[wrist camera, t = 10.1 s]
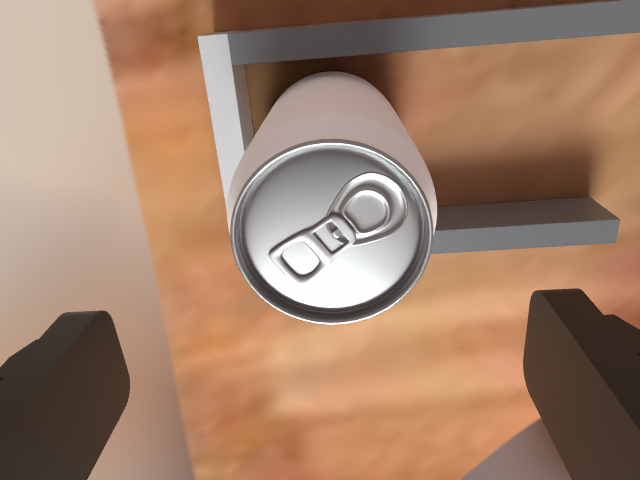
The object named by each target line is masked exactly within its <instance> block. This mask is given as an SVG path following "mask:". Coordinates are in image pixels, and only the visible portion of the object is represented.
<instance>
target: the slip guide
mask: <svg viewBox="0 0 640 480" xmlns="http://www.w3.org/2000/svg"><path fill="white" fill-rule="evenodd" d="M638 32H640V0H595V1H583V2H571V3H559V4H548V5H536V6H524V7H512V8H500V9H488V10H477V11H465V12H453V13H441V14H429V15H417V16H406V17H394V18H382V19H370V20H358V21H346V22H334V23H323V24H311V25H299V26H287V27H275V28H263V29H252V30H240V31H228V32H216V33H210V34H205V35H201V36H198V42H199V48H200V54H201V60H202V66H203V72H204V78H205V84H206V90H207V96H208V101H209V107H210V113H211V119H212V125H213V131H214V137H215V143H216V149H217V155H218V161H219V167H220V173H221V179H222V185H223V191H224V197H225V203H226V209H227V201H228V194H229V189H230V185H231V182H232V178H233V176H234V173H235V171H236V168H237V166H238V164H239V162H240V160H241V158H242V157H243V155H244V153H245V151H246V150H247V148H248V146H249V144H250V143H251V141H252V139H253V138H254V134H253V126H252V119H251V111H250V104H249V96H248V89H247V81H246V74H245V67H244V64H255V63H267V62H280V61H292V60H304V59H317V58H329V57H341V56H354V55H366V54H379V53H391V52H403V51H416V50H428V49H440V48H453V47H465V46H477V45H490V44H502V43H515V42H527V41H539V40H552V39H564V38H576V37H589V36H601V35H614V34H626V33H638ZM619 222H620V219H619V218H617V217H616V216H615V215H613V214H612V213H611V212H609V211H608V210H607V209H605V208H604V207H603V206H601V205H600V204H598V203H597V202H596V201H594V200H593V199H592V198H590V197H580V198H564V199H549V200H533V201H518V202H502V203H487V204H471V205H456V206H440V207H437V221H436V227H435V232H434V236H433V244H432V250H431V254H440V253H457V252H473V251H490V250H507V249H523V248H540V247H557V246H573V245H590V244H607V243H616V238H617V233H618V227H619ZM235 262H236V261H235ZM236 266H237V264H236Z"/></svg>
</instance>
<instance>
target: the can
mask: <svg viewBox="0 0 640 480" xmlns="http://www.w3.org/2000/svg"><path fill="white" fill-rule="evenodd" d="M227 220H228V227H229V232H230V237H231V246H232V251H233V255H234V258H235V261H236V264H237V266H238V268H239V270H240V272H241V274H242V276H243V277H244V279H245V281H246V282H247V283H248V285H249V286H250V287H251V288H252V290H253V291H254V292H255V293H256V294H257V295H258V296H259V297H260V298H261V299H262V300H264V301H265V302H266V303H267V304H269V305H270V306H272V307H273V308H275V309H276V310H278V311H280V312H282V313H284V314H286V315H288V316H290V317H293V318H296V319H299V320H302V321H306V322H311V323H316V324H328V325H336V324H347V323H353V322H358V321H362V320H365V319H368V318H371V317H373V316H376V315H378V314H380V313H382V312H384V311H386V310H387V309H389V308H391V307H392V306H394V305H395V304H396V303H398V302H399V301H400V300H401V299H402V298H404V297H405V296H406V295H407V294H408V293H409V292H410V291H411V289H412V288H413V287H414V286H415V284H416V283H417V282H418V280H419V279H420V277H421V275H422V274H423V272H424V270H425V268H426V265H427V263H428V260H429V257H430V254H431V250H432V244H433V236H434V232H435V227H436V221H437V201H436V194H435V189H434V185H433V181H432V178H431V175H430V173H429V170H428V168H427V166H426V164H425V162H424V160H423V158H422V156H421V154H420V153H419V151H418V149H417V147H416V146H415V144H414V142H413V140H412V139H411V137H410V135H409V134H408V132H407V130H406V129H405V127H404V125H403V124H402V122H401V120H400V119H399V117H398V115H397V114H396V112H395V111H394V109H393V107H392V106H391V104H390V103H389V102H388V100H387V99H386V98H385V97H384V95H383V94H382V93H381V92H380V91H379V90H378V89H376V88H375V87H374V86H373V85H372V84H370V83H369V82H367V81H366V80H364V79H362V78H360V77H358V76H356V75H353V74H349V73H345V72H337V71H328V72H320V73H316V74H312V75H309V76H307V77H305V78H303V79H301V80H299V81H297V82H296V83H294V84H293V85H291V86H290V87H289V88H288V89H287V90H286V91H285V92H284V93H283V94H282V95H281V96H280V97H279V99H278V100H277V101H276V103H275V104H274V106H273V107H272V109H271V110H270V112H269V113H268V115H267V117H266V118H265V120H264V121H263V123H262V125H261V126H260V128H259V130H258V131H257V133H256V134H255V136H254V138H253V139H252V141H251V143H250V144H249V146H248V148H247V150H246V151H245V153H244V155H243V157H242V158H241V160H240V162H239V164H238V166H237V168H236V171H235V173H234V176H233V178H232V182H231V185H230V189H229V194H228V201H227Z"/></svg>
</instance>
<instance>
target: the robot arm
mask: <svg viewBox="0 0 640 480" xmlns="http://www.w3.org/2000/svg"><path fill="white" fill-rule="evenodd" d="M523 369H524V377H525V382H526V386H527V389H528V392H529V394H530V396H531V398H532V400H533V402H534V404H535V406H536V408H537V410H538V412H539V414H540V416H541V418H542V420H543V422H544V424H545V426H546V428H547V430H548V432H549V434H550V436H551V439H552V440H553V443H554V444H555V446H556V448H557V451H558V453H559V455H560V457H561V459H562V461H563V463H564V465H565V466H566V469H567V471H568V473H569V475H570V477H571V479H572V480H640V330H639V329H637V328H636V327H634V326H632V325H631V324H629V323H627V322H626V321H624V320H622V319H620V318H619V317H617V316H615V315H603V314H602V313H601V312H600V310H599V309H598V308H597V307H596V306H595V305H594V303H593V302H592V301H591V300H590V299H589V298H588V297H587V295H586V294H585V293H584V292H583V291H582V290H580V289H557V290H537V291H535V292H533V294H532V296H531V300H530V306H529V315H528V323H527V332H526V340H525V349H524V358H523ZM129 391H130V378H129V373H128V369H127V366H126V363H125V359H124V356H123V353H122V349H121V346H120V343H119V339H118V336H117V333H116V329H115V326H114V323H113V320H112V318H111V316H110V315H109V313H108V312H106V311H86V312H66V313H63V314H62V315H60V316H59V317H58V318H57V320H56V321H55V322H54V323H53V324H52V325H51V326H50V327H49V329H48V330H47V331H46V332H45V333H44V334H43V335H42V336H41V337H40V339H39V340H35V341H34V342H32V343H30V344H29V345H28V346H26V347H25V348H23V349H21V350H20V351H18V352H17V353H15V354H14V355H13V356H11V357H9V358H8V360H7V361H6V362H5V363H4V364H3V365H2V366H1V367H0V480H87V479H88V477H89V475H90V473H91V471H92V469H93V468H94V466H95V464H96V462H97V460H98V458H99V456H100V454H101V452H102V450H103V449H104V447H105V445H106V443H107V441H108V439H109V437H110V435H111V433H112V431H113V430H114V428H115V426H116V424H117V422H118V420H119V418H120V416H121V414H122V413H123V411H124V409H125V407H126V404H127V401H128V398H129Z"/></svg>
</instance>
